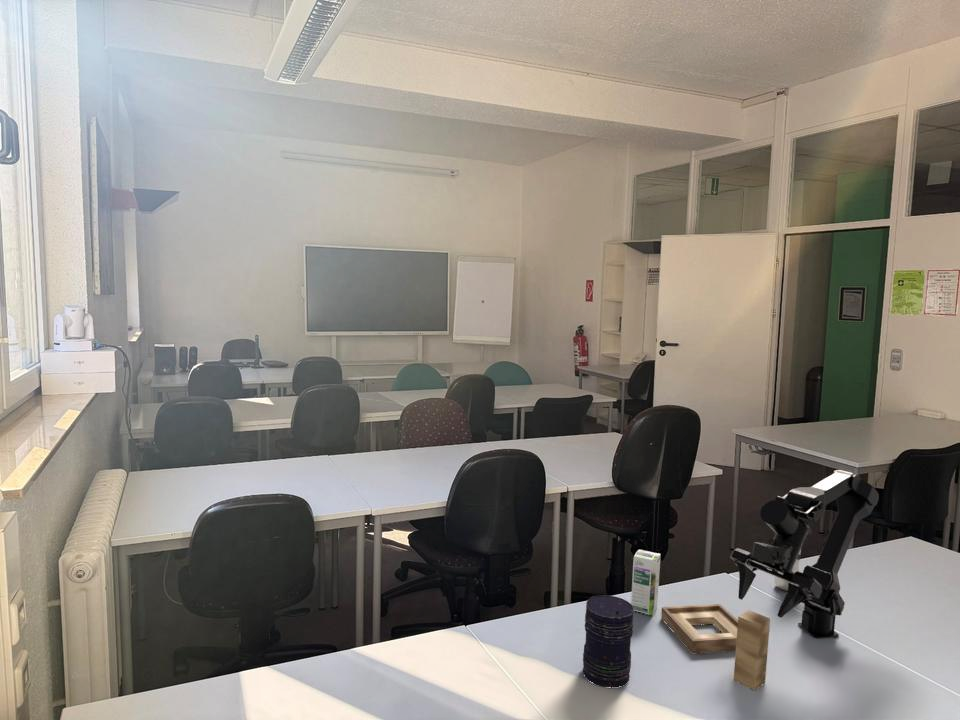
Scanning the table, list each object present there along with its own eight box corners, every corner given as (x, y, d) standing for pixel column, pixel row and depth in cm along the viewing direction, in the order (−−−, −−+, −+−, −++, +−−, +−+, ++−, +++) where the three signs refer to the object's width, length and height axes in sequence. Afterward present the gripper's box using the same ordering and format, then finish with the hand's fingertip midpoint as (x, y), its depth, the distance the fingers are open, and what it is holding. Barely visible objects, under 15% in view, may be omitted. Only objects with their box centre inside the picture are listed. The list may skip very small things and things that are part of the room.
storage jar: (573, 665, 137) (577, 598, 136) (613, 657, 141) (617, 592, 139) (598, 692, 128) (601, 621, 126) (639, 683, 131) (644, 614, 130)
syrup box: (629, 611, 162) (633, 555, 160) (635, 601, 167) (638, 547, 166) (652, 617, 159) (656, 560, 158) (657, 607, 164) (661, 552, 163)
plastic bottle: (775, 592, 175) (781, 521, 173) (771, 581, 182) (777, 513, 180) (801, 595, 173) (807, 524, 171) (796, 585, 180) (802, 516, 178)
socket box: (719, 615, 161) (720, 604, 161) (755, 649, 146) (756, 636, 145) (661, 618, 158) (661, 607, 158) (692, 653, 143) (693, 641, 143)
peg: (744, 672, 136) (749, 609, 135) (765, 683, 133) (770, 618, 132) (733, 680, 134) (738, 616, 132) (754, 691, 130) (759, 625, 129)
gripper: (733, 514, 146) (704, 577, 142) (814, 542, 131) (784, 613, 127) (755, 535, 152) (727, 595, 148) (835, 563, 136) (806, 632, 133)
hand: (759, 607), depth 139 cm, fingers open, 9 cm apart
